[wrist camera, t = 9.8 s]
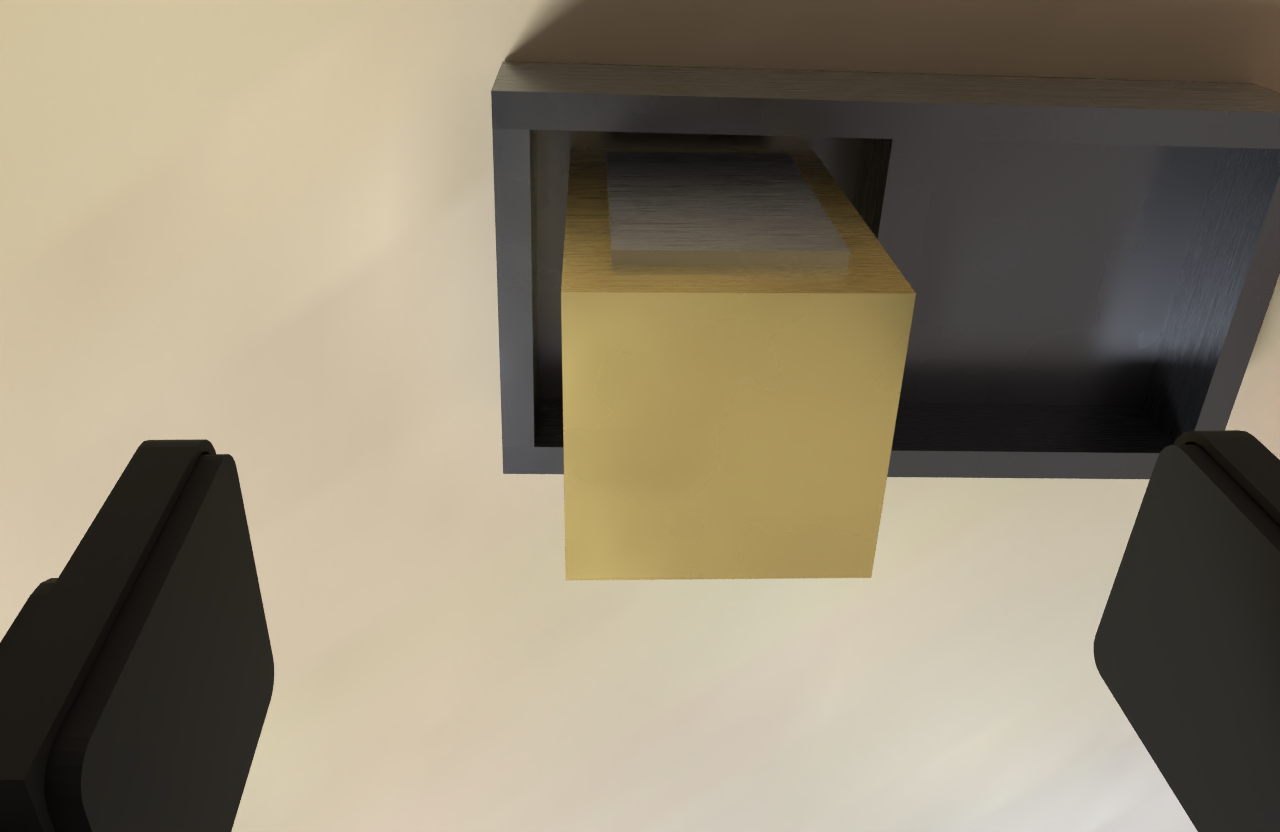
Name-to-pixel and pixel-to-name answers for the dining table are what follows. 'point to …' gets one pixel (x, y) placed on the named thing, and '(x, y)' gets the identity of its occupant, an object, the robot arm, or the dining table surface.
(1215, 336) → the tray
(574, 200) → the gold block
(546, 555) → the dining table surface
